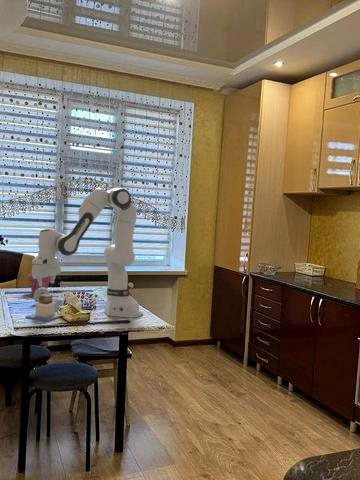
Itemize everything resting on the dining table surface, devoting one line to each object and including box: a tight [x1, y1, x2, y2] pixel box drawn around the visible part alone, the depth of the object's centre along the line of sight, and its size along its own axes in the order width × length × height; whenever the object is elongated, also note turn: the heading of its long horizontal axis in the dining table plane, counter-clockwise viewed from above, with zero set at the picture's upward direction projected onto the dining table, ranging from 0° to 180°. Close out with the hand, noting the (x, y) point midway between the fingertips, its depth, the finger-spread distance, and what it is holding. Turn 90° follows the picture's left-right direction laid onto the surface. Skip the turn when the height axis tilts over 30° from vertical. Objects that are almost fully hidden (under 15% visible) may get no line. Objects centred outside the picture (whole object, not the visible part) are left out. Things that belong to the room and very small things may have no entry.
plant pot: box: [27, 273, 52, 295], centre depth 298 cm, size 14×14×13 cm
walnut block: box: [39, 293, 54, 304], centre depth 239 cm, size 5×5×5 cm
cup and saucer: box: [25, 301, 61, 323], centre depth 239 cm, size 14×14×8 cm
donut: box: [33, 288, 51, 303], centre depth 269 cm, size 10×4×10 cm, turn 128°
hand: (46, 284), depth 239 cm, fingers open, 8 cm apart
